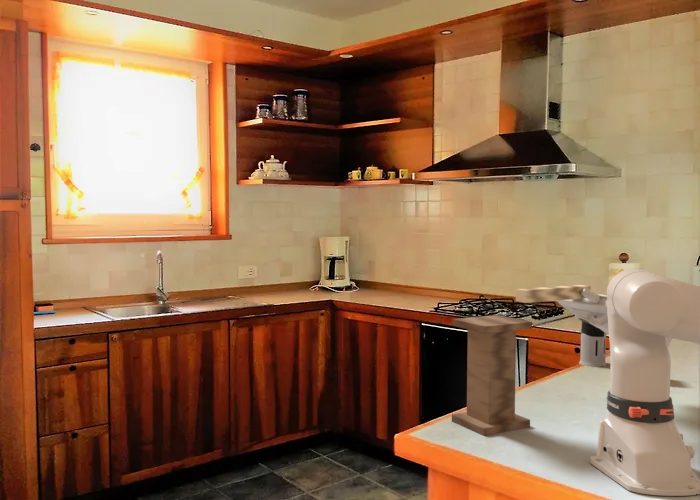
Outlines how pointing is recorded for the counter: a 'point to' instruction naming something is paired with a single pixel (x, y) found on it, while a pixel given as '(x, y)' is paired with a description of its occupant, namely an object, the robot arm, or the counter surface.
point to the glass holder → (592, 346)
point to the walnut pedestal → (491, 374)
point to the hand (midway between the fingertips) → (574, 290)
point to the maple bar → (550, 293)
